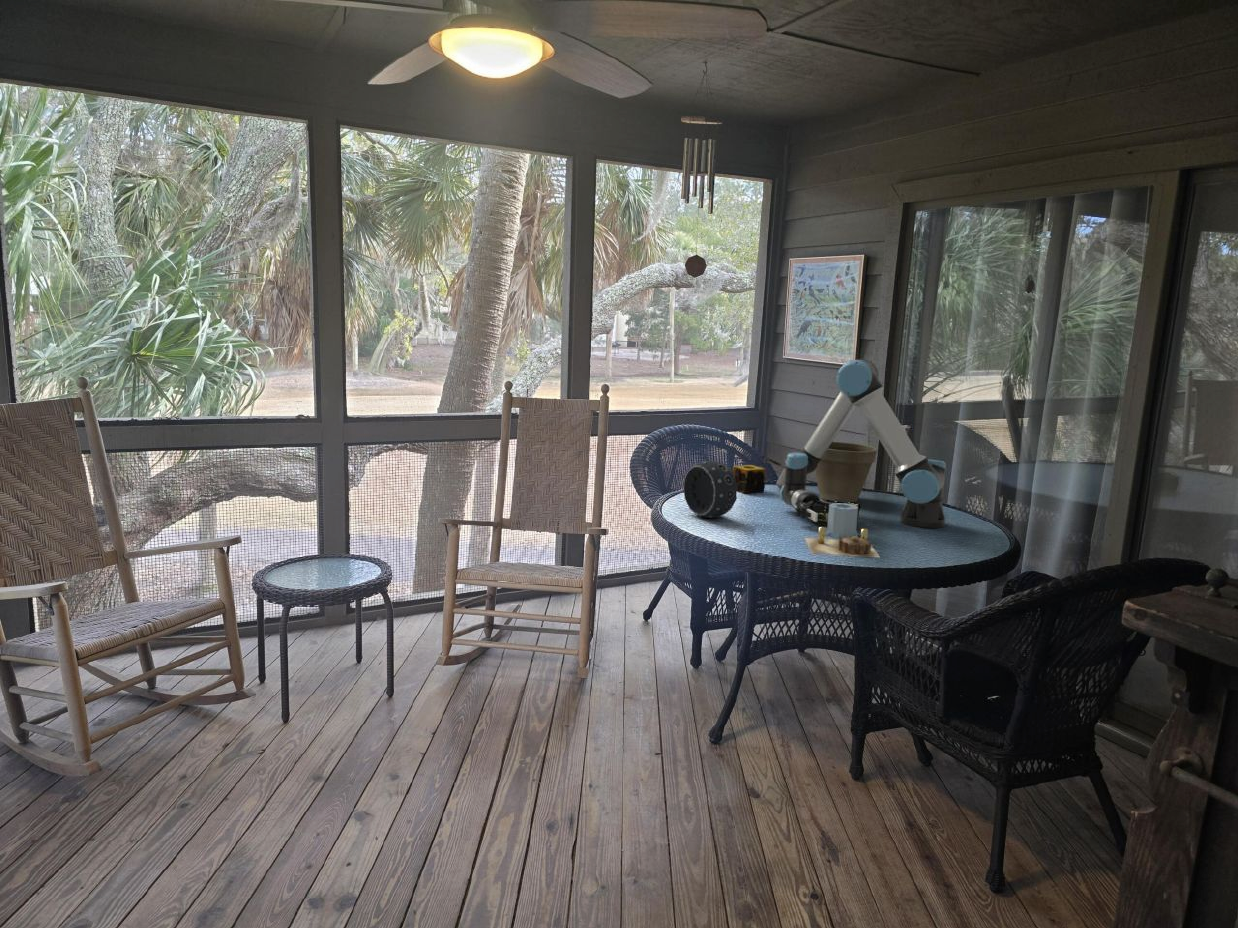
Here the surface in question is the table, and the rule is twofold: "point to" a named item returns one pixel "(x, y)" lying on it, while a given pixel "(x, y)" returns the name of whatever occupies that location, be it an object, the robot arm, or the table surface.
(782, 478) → the coffee pot
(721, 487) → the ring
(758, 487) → the candle
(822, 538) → the peg
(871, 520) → the table surface
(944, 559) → the table surface
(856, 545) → the fixed gear
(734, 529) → the table surface
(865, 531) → the far peg
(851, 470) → the plant pot
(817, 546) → the gear board
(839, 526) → the blue gear
